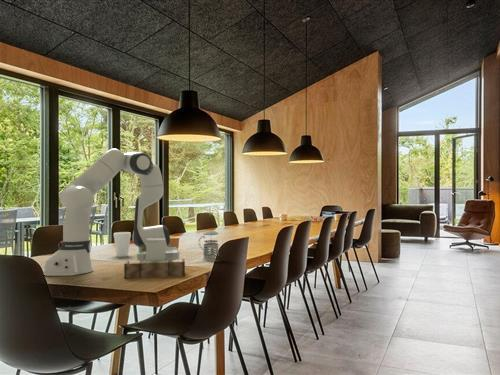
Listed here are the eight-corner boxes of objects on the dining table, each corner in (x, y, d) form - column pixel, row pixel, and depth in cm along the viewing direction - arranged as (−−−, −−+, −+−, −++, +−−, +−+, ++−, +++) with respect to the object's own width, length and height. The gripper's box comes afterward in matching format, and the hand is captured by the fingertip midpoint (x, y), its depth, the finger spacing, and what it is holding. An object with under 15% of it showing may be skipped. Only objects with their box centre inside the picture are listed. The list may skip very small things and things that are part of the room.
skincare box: (145, 276, 182) (145, 239, 182) (146, 273, 189) (146, 238, 189) (165, 275, 184) (165, 239, 184) (165, 272, 190) (165, 237, 190)
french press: (217, 260, 221) (217, 212, 221) (196, 260, 223) (195, 212, 223) (222, 257, 231) (222, 211, 231) (202, 257, 233) (201, 211, 233)
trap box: (124, 278, 178) (124, 262, 178) (126, 274, 186) (126, 259, 186) (184, 275, 182) (184, 260, 182) (184, 272, 190) (184, 257, 190)
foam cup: (121, 257, 235) (121, 234, 235) (110, 256, 240) (110, 233, 240) (134, 255, 243) (134, 232, 244) (123, 254, 248) (123, 231, 248)
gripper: (137, 248, 211) (134, 251, 198) (179, 246, 214) (179, 250, 201) (137, 260, 211) (134, 265, 198) (179, 259, 214) (179, 263, 201)
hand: (157, 257), depth 199 cm, fingers closed
